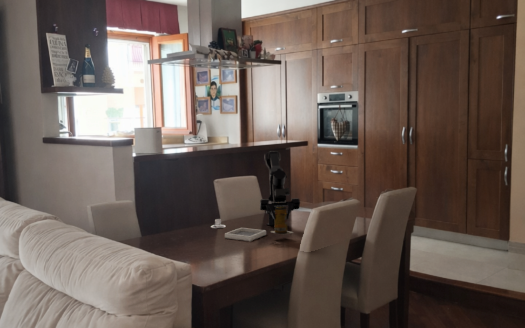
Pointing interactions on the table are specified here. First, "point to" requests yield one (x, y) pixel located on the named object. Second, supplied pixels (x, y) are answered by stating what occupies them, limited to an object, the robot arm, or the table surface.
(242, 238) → the tray
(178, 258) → the table surface
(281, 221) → the condiment
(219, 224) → the white ring with post
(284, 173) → the robot arm
